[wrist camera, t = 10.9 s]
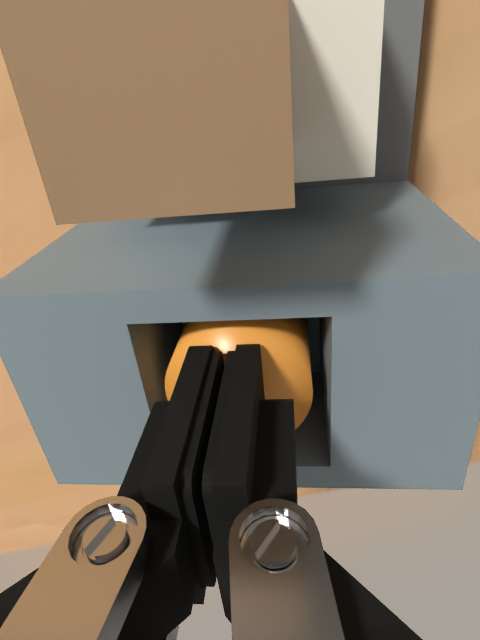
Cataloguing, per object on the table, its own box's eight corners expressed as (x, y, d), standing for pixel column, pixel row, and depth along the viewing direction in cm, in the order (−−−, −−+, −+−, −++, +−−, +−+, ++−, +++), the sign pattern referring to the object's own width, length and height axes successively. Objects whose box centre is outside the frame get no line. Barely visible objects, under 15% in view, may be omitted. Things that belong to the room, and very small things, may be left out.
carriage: (358, -47, 11) (584, -424, 3) (352, 151, 14) (462, 277, 5) (110, -11, 12) (-301, -211, 4) (146, 169, 15) (-53, 301, 6)
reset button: (306, 271, 12) (312, 326, 9) (308, 375, 14) (313, 446, 11) (180, 278, 12) (151, 332, 10) (198, 378, 14) (178, 446, 11)
